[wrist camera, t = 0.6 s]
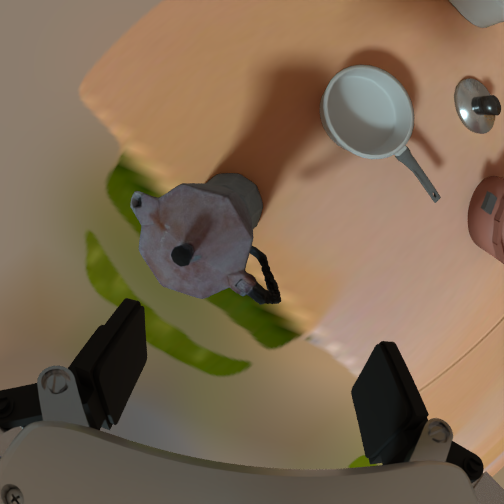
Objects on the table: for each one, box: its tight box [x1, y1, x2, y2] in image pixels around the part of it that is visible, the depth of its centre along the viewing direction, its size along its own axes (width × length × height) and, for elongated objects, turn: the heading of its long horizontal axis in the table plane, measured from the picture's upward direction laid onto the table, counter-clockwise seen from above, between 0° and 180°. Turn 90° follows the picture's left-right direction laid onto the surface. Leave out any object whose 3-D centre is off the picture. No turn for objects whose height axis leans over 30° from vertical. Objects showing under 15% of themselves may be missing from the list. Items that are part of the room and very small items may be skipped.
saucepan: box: [320, 65, 441, 203], centre depth 31 cm, size 12×20×6 cm, turn 47°
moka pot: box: [131, 173, 281, 304], centre depth 29 cm, size 10×15×20 cm, turn 56°
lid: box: [454, 79, 501, 134], centre depth 27 cm, size 9×9×6 cm
